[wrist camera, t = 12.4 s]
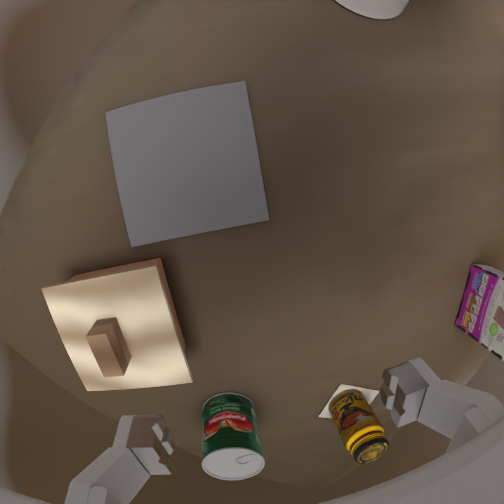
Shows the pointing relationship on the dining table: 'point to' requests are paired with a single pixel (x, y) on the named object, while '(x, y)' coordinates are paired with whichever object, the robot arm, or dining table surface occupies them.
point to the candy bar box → (484, 308)
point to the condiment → (357, 422)
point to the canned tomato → (231, 437)
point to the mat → (187, 163)
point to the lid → (119, 330)
